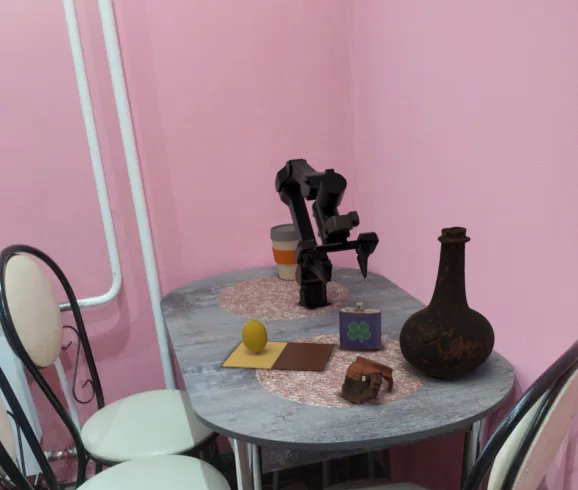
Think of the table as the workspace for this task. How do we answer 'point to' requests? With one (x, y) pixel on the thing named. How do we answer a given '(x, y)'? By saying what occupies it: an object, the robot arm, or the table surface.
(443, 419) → the table surface
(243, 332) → the lemon
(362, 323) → the flask
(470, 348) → the glass bottle
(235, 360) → the board
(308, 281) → the robot arm
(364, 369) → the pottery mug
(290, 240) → the reusable coffee cup
